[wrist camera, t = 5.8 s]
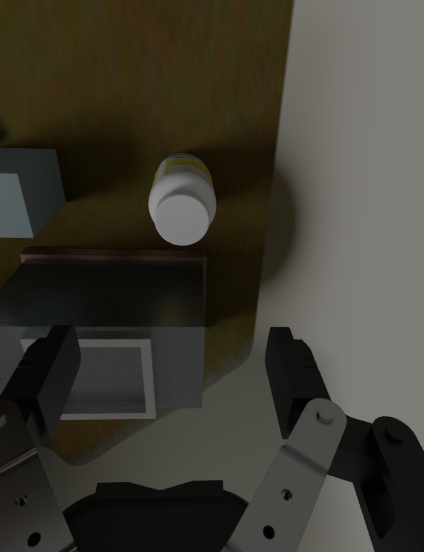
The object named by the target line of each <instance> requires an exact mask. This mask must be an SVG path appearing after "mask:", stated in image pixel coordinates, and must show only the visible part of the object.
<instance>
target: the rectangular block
mask: <svg viewBox="0 0 424 552" xmlns="http://www.w3.org/2000/svg"><path fill="white" fill-rule="evenodd" d="M65 203H66V200H65V195H64V190H63V185H62V179H61V174H60V169H59V164H58V159H57V153H56V149H32V148H3V147H0V237H5V238H34V237H35V236H36V235H37V234H38V233H39V232H40V231H41V229H42V228H43V227H44V226H45V225H46V224H47V223H48V222H49V221H50V219H51V218H52V217H53V216H54V215H55V214H56V213H57V212H58V211H59V210H60V208H61V207H62V206H63V205H64V204H65Z"/></svg>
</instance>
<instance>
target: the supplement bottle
mask: <svg viewBox="0 0 424 552" xmlns="http://www.w3.org/2000/svg"><path fill="white" fill-rule="evenodd" d="M149 212H150V215H151V217H152V219H153V221H154V223H155V226H156V229H157V231H158V232H159V234H160V235H161V236H162V237H163V238H164V239H165V240H166V241H168V242H170V243H172V244H175V245H190V244H193V243H195V242H197V241H199V240H200V239H201V238H202V237H203V236H204V235H205V233H206V232H207V230H208V227H209V225H210V224H211V222H212V221H213V218H214V216H215V212H216V198H215V193H214V188H213V183H212V178H211V175H210V172H209V170H208V168H207V166H206V165H205V164H204V162H203V161H201V160H200V159H199V158H198V157H196V156H194V155H191V154H186V153H179V154H174V155H172V156H170V157H168V158H166V159H165V160H164V161H163V162H162V163H161V164H160V166H159V168H158V169H157V172H156V175H155V178H154V182H153V185H152V189H151V192H150V196H149Z"/></svg>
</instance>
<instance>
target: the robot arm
mask: <svg viewBox="0 0 424 552" xmlns="http://www.w3.org/2000/svg"><path fill="white" fill-rule="evenodd" d="M80 363H81V351H80V346H79V342H78V337H77V332H76V328H75V326H74V325H53V326H52V328H51V330H50V331H49V333H48V335H47V337H46V338H38V339H37V340H36V341H35V342H33V343H32V344H31V345H30V346H29V347H28V348H27V350H26V352H25V354H24V355H23V357H22V359H21V360H20V362H19V364H18V366H17V368H16V369H15V371H14V372H13V374H12V376H11V378H10V379H9V381H8V383H7V385H6V386H5V388H4V390H3V391H2V393H1V395H0V552H296V551H297V548H298V546H299V543H300V541H301V538H302V536H303V533H304V531H305V528H306V526H307V523H308V521H309V518H310V516H311V513H312V511H313V508H314V505H315V503H316V501H317V498H318V496H319V493H320V490H321V488H322V486H323V483H324V481H325V478H326V475H331V476H334V477H337V478H340V479H343V480H346V481H349V482H352V483H353V485H354V488H355V491H356V495H357V497H358V501H359V504H360V507H361V510H362V514H363V516H364V520H365V523H366V526H367V529H368V532H369V536H370V539H371V542H372V545H373V548H374V551H375V552H424V451H423V449H422V447H421V445H420V443H419V441H418V440H417V437H416V435H415V434H414V432H413V431H412V430H411V429H410V428H409V427H408V426H407V425H406V424H404V423H403V422H401V421H400V420H398V419H396V418H392V417H388V416H382V417H379V418H377V419H375V421H374V422H373V423H369V422H365V421H362V420H358V419H355V418H352V417H349V416H347V415H345V413H344V412H343V410H342V409H341V408H340V407H339V406H338V405H337V404H335V403H334V402H332V401H331V399H330V396H329V394H328V391H327V389H326V387H325V384H324V382H323V379H322V376H321V374H320V372H319V370H318V367H317V364H316V362H315V361H314V357H313V354H312V352H311V349H310V348H309V347H308V346H307V345H306V343H304V342H303V340H296V339H293V336H292V333H291V330H290V328H289V327H271V328H270V331H269V336H268V342H267V348H266V354H265V365H266V370H267V375H268V379H269V383H270V387H271V392H272V396H273V400H274V405H275V409H276V413H277V418H278V422H279V426H280V431H281V435H282V438H283V439H288V440H287V442H286V443H285V445H284V446H281V448H280V449H279V451H278V453H277V455H276V456H275V458H274V460H273V462H272V463H271V465H270V467H269V469H268V471H267V472H266V474H265V476H264V478H263V480H262V482H261V483H260V485H259V487H258V489H257V491H256V492H255V494H254V496H253V498H252V500H251V501H250V503H248V502H247V501H245V500H244V499H243V498H241V497H240V496H238V495H236V494H234V493H231V492H229V491H225V490H223V480H209V481H191V482H187V483H184V484H180V485H177V486H174V487H170V488H167V489H163V490H156V489H153V488H149V487H145V486H141V485H138V484H134V483H130V482H113V483H97V488H96V492H95V494H91V495H89V496H86V497H84V498H82V499H80V500H79V501H77V502H75V503H74V504H72V505H71V506H69V507H68V508H67V509H65V510H64V511H63V512H62V511H61V508H60V506H59V503H58V501H57V499H56V496H55V494H54V491H53V489H52V486H51V484H50V481H49V479H48V477H47V474H46V472H45V469H44V467H43V464H42V462H41V460H40V457H39V455H38V452H37V450H38V447H39V445H40V442H41V441H52V439H53V437H54V434H55V431H56V429H57V426H58V423H59V421H60V418H61V415H62V413H63V410H64V407H65V405H66V402H67V399H68V397H69V394H70V391H71V389H72V386H73V383H74V381H75V378H76V375H77V373H78V370H79V367H80Z"/></svg>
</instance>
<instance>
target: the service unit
mask: <svg viewBox="0 0 424 552" xmlns="http://www.w3.org/2000/svg"><path fill="white" fill-rule="evenodd" d="M20 257H21V261H22V264H21V265H20V267H19V268H18V269H17V270H16V271H15V273H14V274H13V275H12V276H11V277H10V278H9V280H8V281H7V282H6V283H5V284H4V286H3V287H2V288H1V289H0V395H1V393H2V391H3V390H4V388H5V386H6V385H7V383H8V381H9V379H10V378H11V376H12V374H13V372H14V371H15V369H16V368H17V366H18V364H19V362H20V360H21V359H22V357H23V355H24V354H25V352H26V350H27V348H28V347H29V346H30V345H31V344H32V343H33V342H35V341H36V340H37V339H38V338H46V337H47V335H48V333H49V331H50V330H51V328H52V326H53V325H74V326H75V328H76V332H77V337H78V342H79V346H80V351H81V363H80V367H79V370H78V373H77V375H76V378H75V381H74V383H73V386H72V389H71V391H70V394H69V397H68V399H67V402H66V405H65V407H64V410H63V413H62V415H61V418H60V420H84V419H155V418H156V413H157V409H160V408H202V391H203V368H204V345H205V298H206V274H207V251H191V250H131V249H72V248H25V249H24V250H23V251H22V253H21V254H20Z"/></svg>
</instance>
